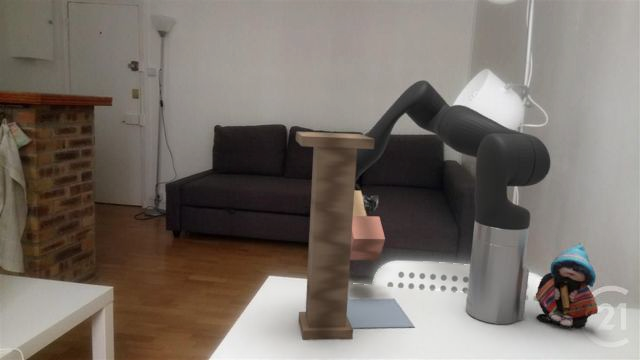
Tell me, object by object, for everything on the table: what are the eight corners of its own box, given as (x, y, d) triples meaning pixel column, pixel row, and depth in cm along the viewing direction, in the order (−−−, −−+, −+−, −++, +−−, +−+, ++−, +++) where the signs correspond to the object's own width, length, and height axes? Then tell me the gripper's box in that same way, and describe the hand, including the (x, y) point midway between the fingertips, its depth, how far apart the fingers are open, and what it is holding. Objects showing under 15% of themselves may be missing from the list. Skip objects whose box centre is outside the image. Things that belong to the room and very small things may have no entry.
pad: (394, 299, 96) (394, 298, 96) (414, 327, 84) (414, 326, 84) (338, 299, 94) (338, 298, 94) (351, 328, 83) (351, 327, 83)
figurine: (531, 326, 87) (541, 244, 85) (533, 311, 93) (543, 235, 91) (595, 340, 83) (608, 254, 80) (593, 324, 89) (605, 244, 87)
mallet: (365, 200, 109) (370, 180, 105) (379, 260, 96) (385, 239, 93) (338, 200, 108) (342, 179, 105) (348, 260, 96) (353, 238, 92)
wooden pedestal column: (348, 310, 90) (360, 134, 85) (361, 338, 79) (375, 139, 74) (288, 311, 88) (296, 131, 83) (293, 339, 78) (302, 136, 73)
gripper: (315, 177, 117) (325, 191, 100) (372, 178, 119) (392, 193, 102) (313, 207, 119) (323, 227, 102) (370, 209, 121) (389, 228, 104)
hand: (358, 210), depth 102 cm, fingers closed on mallet, 3 cm apart
